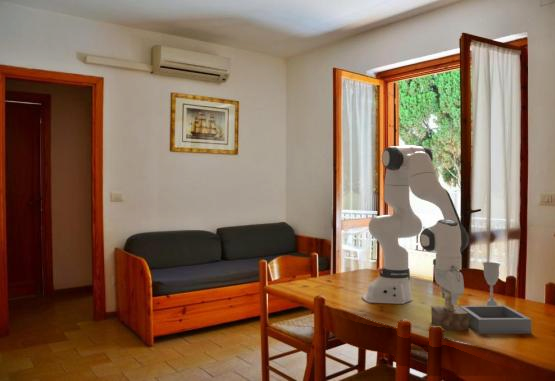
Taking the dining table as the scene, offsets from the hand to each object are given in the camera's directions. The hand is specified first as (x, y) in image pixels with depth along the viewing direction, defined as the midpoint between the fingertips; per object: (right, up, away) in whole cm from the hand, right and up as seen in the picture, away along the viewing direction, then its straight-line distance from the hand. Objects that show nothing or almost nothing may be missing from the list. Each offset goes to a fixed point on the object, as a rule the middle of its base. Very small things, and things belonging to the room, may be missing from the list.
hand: (449, 301), depth 162 cm
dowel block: (0, -9, 0) cm, 9 cm away
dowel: (0, -9, 0) cm, 9 cm away
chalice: (+29, -9, +27) cm, 41 cm away
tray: (+16, -9, -1) cm, 18 cm away
